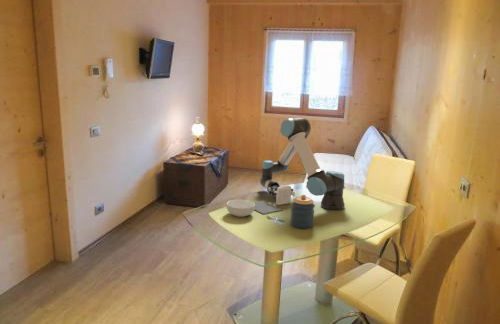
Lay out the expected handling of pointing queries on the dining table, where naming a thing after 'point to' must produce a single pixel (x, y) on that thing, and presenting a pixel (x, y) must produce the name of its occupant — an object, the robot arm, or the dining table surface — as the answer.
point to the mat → (265, 207)
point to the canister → (302, 212)
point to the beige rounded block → (284, 195)
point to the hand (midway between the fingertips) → (286, 195)
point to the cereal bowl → (240, 207)
